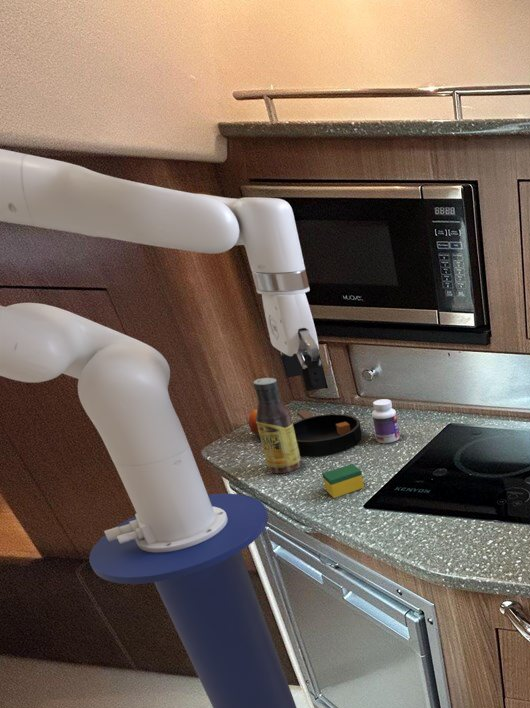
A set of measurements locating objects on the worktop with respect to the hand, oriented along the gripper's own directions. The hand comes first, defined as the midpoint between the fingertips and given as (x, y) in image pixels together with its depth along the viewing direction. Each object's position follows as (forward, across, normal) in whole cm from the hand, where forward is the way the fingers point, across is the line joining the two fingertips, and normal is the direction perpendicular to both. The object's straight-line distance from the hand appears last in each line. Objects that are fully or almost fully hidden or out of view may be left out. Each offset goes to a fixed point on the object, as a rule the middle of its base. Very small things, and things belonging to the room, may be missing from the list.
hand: (305, 382), depth 89 cm
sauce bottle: (+24, -17, -3) cm, 29 cm away
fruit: (+24, -37, 0) cm, 44 cm away
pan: (+23, -28, +8) cm, 37 cm away
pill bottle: (+24, -16, +19) cm, 35 cm away
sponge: (+23, 0, +2) cm, 23 cm away
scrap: (+22, -25, +12) cm, 36 cm away
